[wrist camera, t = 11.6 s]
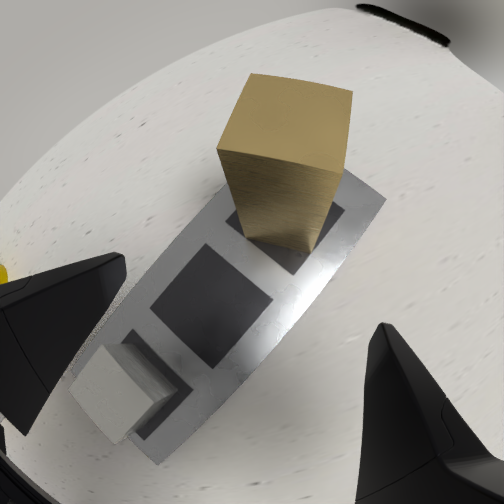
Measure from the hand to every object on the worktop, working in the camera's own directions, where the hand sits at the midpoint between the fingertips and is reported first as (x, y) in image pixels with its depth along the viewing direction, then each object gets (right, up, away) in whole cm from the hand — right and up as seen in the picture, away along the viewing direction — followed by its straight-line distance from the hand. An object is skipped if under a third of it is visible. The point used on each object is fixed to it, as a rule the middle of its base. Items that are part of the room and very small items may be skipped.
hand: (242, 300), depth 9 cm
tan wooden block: (+3, +4, +10) cm, 12 cm away
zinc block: (-8, -8, +8) cm, 14 cm away
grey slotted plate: (-2, -1, +10) cm, 10 cm away
